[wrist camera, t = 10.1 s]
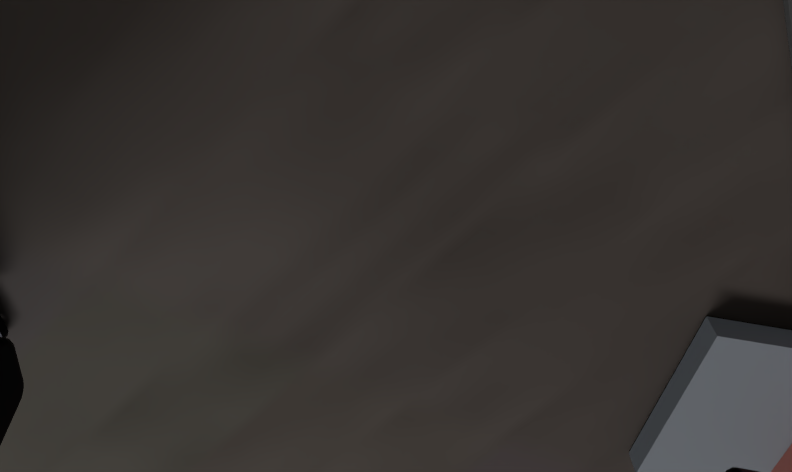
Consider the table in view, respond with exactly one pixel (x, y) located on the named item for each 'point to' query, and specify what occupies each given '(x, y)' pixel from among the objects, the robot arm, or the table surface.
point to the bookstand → (723, 403)
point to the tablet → (789, 23)
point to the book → (784, 462)
